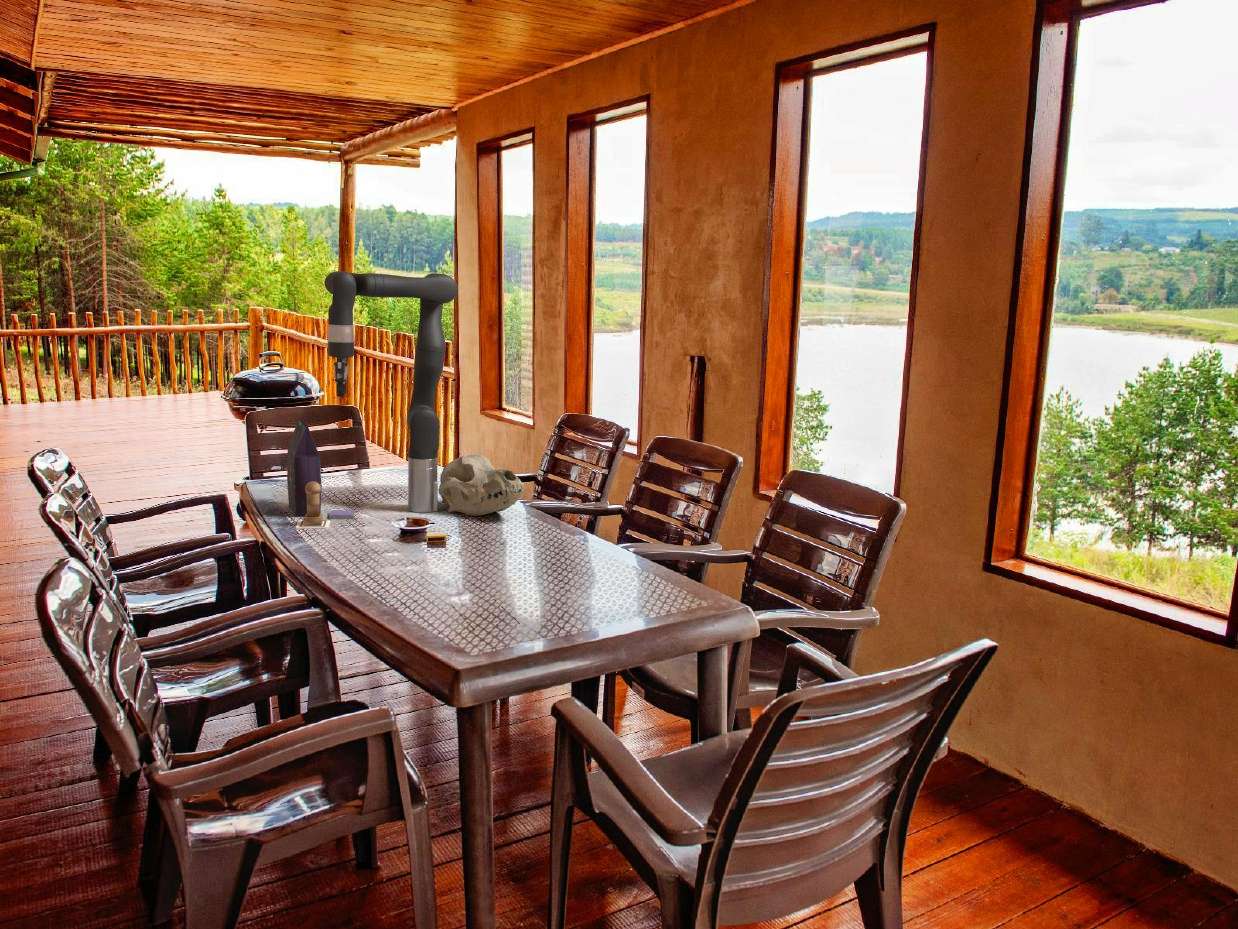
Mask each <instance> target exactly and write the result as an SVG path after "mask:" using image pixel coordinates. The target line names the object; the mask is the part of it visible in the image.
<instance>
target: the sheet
mask: <svg viewBox="0 0 1238 929" xmlns="http://www.w3.org/2000/svg"><path fill="white" fill-rule="evenodd" d="M330 524H331V519H327V520H324V519H323V522H322V525H321V526H304V520H298V522H297V524H296V526H295V529H297V530H298V529H303V530H304V529H329V527H330Z"/></svg>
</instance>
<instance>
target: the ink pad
mask: <svg viewBox="0 0 1238 929" xmlns="http://www.w3.org/2000/svg"><path fill="white" fill-rule="evenodd" d="M328 516H329V517H328V518H329V519H328V520H353V519H354V517H355V510H353V509H349V510H348V509H347V510H345V509H343V510H341V509H340V510H339V509H337V510H334V509H333V510H330V513H329V515H328Z"/></svg>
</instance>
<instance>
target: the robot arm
mask: <svg viewBox="0 0 1238 929" xmlns="http://www.w3.org/2000/svg"><path fill="white" fill-rule="evenodd" d="M324 287H325V289H326V291H327V292H328V293H329V294H331V295H332V297H331V298H332V300H331V304H330V306H328V311H327V312H328V313H327V315H328V316H327V317H328V320H327V321H328V324H327V356H328V357H331V358H336V361H334V363H333V369H334V371H333V372H334V373H333V375H334V378H335V379H334V381H335V383H334V384H336V386H335V388H336V391H335V392H336V397H338V398H340V397H341V398H344V397H345V394H347V381H348V375H349V365H350V364H349V362H348V359H347V358H352V357H354V356H355V331H354V307H355V301H356V296H361V297H367V298H384V299H386V298H387V299H388V298H390V299H391V298H401V299H402V298H403V299H404V298H405V299H406V298H407V299H408V298H409V299H410V298H411V299H412V298H413V299H419V320H418V327H417V336H416V343H415V350H414V352H415V353H414V359H413V360H414V362H413V375H412V376H413V379H412V381H413V382H412V394H411V398H410V404H409V409H408V413H407V416H406V423H407V427H408V428H409V446H408V451H407V452H408V454H407V463H408V464H407V510H408V511H410V512H412V513H413V512H414V513H431V512H438V502H439V500H438V495H439V492H438V491H439V490H438V489H439V486H438V457H439V456H438V455H439V454H438V453H439V449H440V427H441V426H440V418H439V416H438V415H437V413H436V411H435V404H436V393H437V389H438V385H439V383H440V381H441V377H442V374H443V370H444V365H445V358H446V349H447V348H446V341H445V334H444V330H443V329H444V328H443V323H442V321H443V320H442V316H443V308H444V305H445V304H448V303H451V302H452V301H453V300H455V299H456V297H457V294H458V291H459V289H458V283H457V282H456V279H454V278H453V277H451V276H450V275H448V274H446V273H438V272H436V273H435V272H432V273H428V274H426V275H425V276H424V277H423V276H422V277H419V276H418V277H417V276H416V277H415V276H404V275H396V274H388V273H387V274H386V273H374V272H371V273H370V272H364V273H363V272H361V273H358V272H357V273H355V272H348V271H343V270H342V271H341V270H340V271H339V270H338V271H337V270H336V271H332V272H330V273H328V274H327V275H326V277H325V279H324Z"/></svg>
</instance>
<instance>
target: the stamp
mask: <svg viewBox="0 0 1238 929" xmlns="http://www.w3.org/2000/svg"><path fill="white" fill-rule="evenodd" d="M305 491H306V493H307V514H305V516H303V521H304V526H321V525H322V522H323V520H324V514H323V513H321V514H320V491H321V492H322V490H321V487H320V485H319V483H317V482H314V481H312V482H309V483H308V484H307V485H306V487H305Z"/></svg>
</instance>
